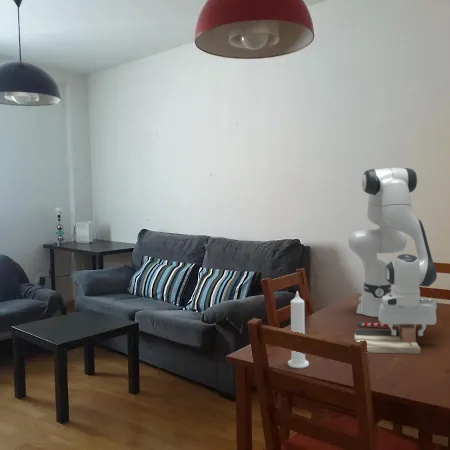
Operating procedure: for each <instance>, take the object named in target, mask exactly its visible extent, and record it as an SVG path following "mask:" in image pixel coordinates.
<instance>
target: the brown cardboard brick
mask: <svg viewBox="0 0 450 450" xmlns="http://www.w3.org/2000/svg"><path fill="white" fill-rule="evenodd" d="M398 330H399V337H400V339H401V340H402V342H415V341H416V339H417V338H416V331H417V328H416V329H415V328H414V326H413V325H412V324H399V326H398Z"/></svg>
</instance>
